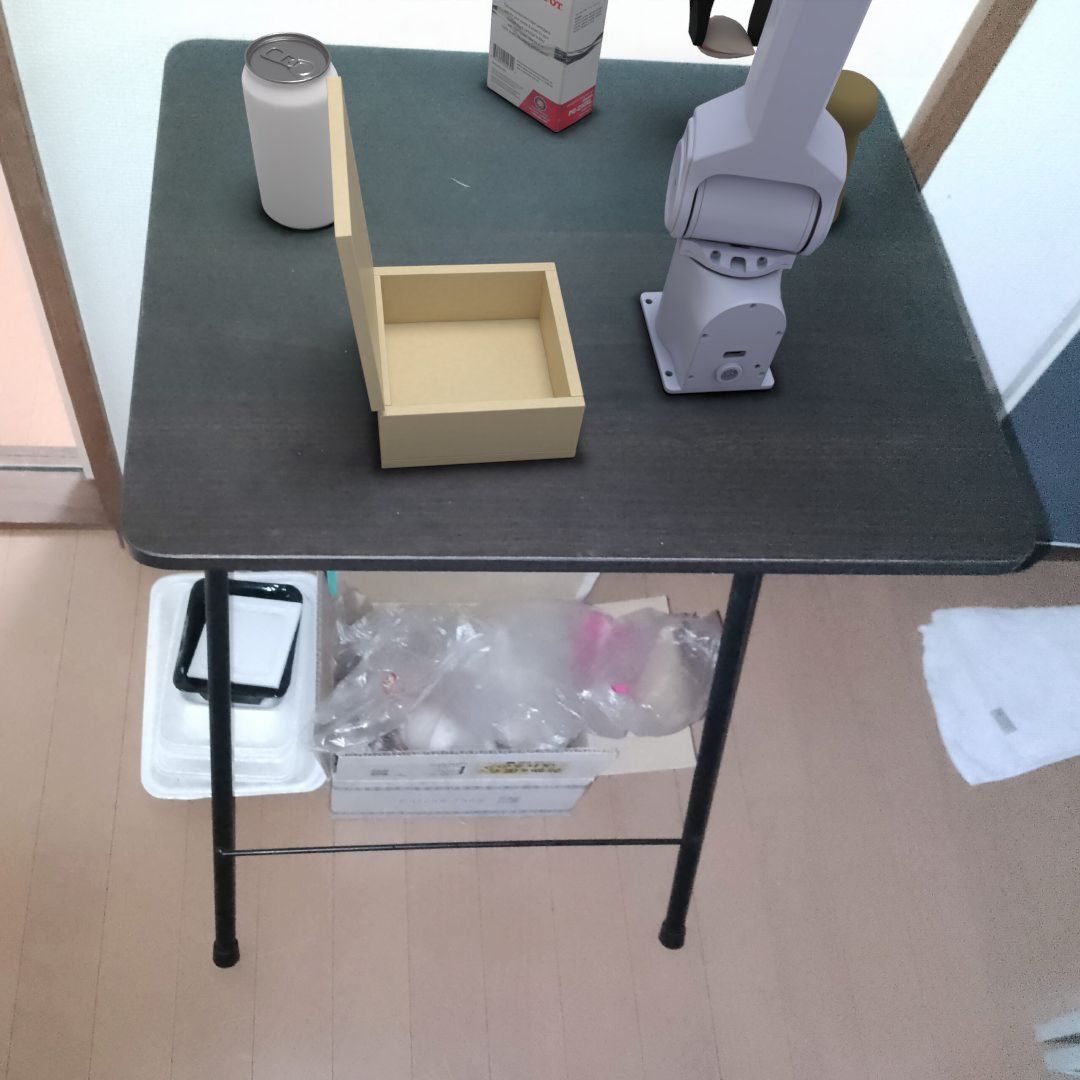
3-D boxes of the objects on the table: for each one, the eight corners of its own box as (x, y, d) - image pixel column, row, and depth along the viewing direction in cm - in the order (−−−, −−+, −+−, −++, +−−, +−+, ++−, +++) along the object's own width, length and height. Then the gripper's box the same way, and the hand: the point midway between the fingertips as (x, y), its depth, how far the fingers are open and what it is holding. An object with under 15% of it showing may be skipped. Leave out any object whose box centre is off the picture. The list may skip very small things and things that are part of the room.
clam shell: (710, 32, 81) (717, 1, 79) (762, 57, 80) (772, 27, 78) (683, 54, 79) (691, 23, 77) (737, 80, 78) (746, 49, 76)
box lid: (340, 75, 54) (326, 76, 54) (351, 235, 47) (334, 236, 47) (372, 261, 65) (360, 262, 65) (385, 410, 58) (371, 411, 58)
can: (312, 245, 73) (294, 98, 63) (243, 208, 75) (216, 58, 65) (365, 200, 77) (357, 53, 66) (299, 165, 78) (281, 16, 68)
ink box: (594, 112, 85) (616, -27, 75) (555, 135, 83) (573, -5, 73) (522, 65, 88) (535, -75, 78) (483, 86, 86) (491, -55, 76)
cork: (817, 240, 79) (869, 118, 70) (753, 204, 81) (795, 81, 72) (851, 203, 82) (905, 81, 73) (788, 170, 84) (834, 47, 74)
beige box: (546, 317, 72) (554, 261, 67) (574, 457, 65) (585, 405, 61) (370, 324, 70) (367, 266, 65) (381, 468, 63) (378, 416, 59)
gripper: (858, -176, 70) (797, 12, 82) (661, -186, 68) (626, 8, 79) (890, -127, 67) (822, 62, 78) (683, -136, 64) (644, 60, 76)
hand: (725, 39), depth 78 cm, fingers closed on clam shell, 4 cm apart
